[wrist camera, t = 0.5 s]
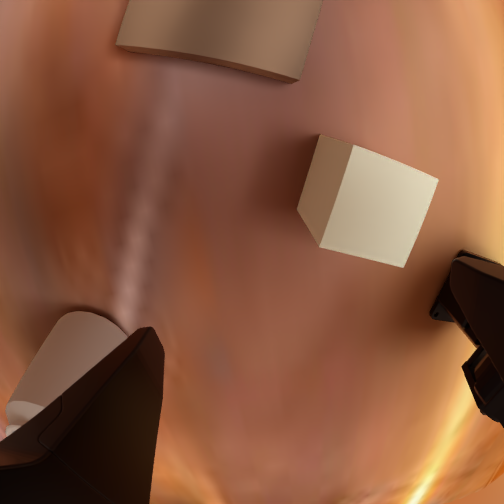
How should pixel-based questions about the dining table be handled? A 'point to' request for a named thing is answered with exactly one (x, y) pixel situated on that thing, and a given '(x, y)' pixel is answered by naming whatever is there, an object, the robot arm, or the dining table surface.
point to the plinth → (225, 33)
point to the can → (61, 363)
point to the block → (364, 202)
